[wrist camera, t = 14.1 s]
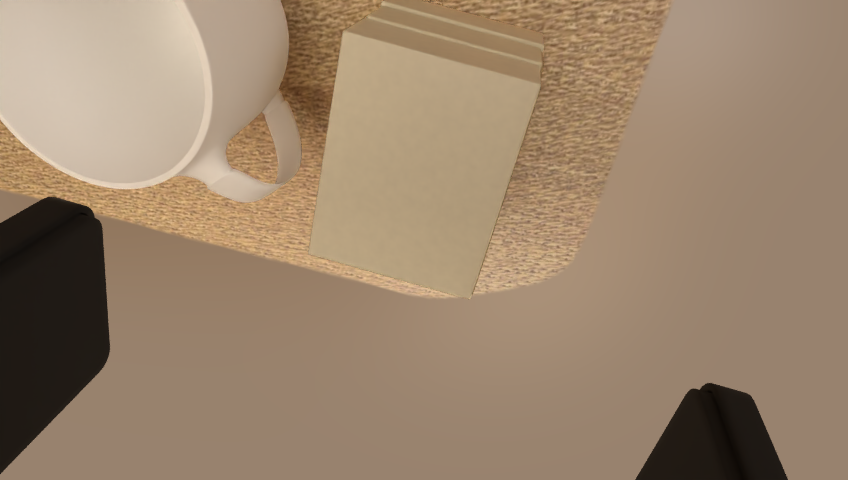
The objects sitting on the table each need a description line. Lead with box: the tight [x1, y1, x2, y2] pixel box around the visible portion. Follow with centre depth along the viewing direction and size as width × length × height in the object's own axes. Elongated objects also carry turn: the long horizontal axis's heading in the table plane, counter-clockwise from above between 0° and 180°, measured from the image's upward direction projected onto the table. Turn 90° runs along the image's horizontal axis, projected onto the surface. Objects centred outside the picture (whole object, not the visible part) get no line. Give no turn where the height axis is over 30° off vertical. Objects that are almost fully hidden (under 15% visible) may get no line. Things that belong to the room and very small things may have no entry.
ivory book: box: [308, 18, 541, 299], centre depth 24 cm, size 7×9×3 cm
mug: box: [0, 0, 302, 203], centre depth 25 cm, size 12×9×12 cm
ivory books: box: [366, 0, 544, 76], centre depth 28 cm, size 7×10×6 cm
